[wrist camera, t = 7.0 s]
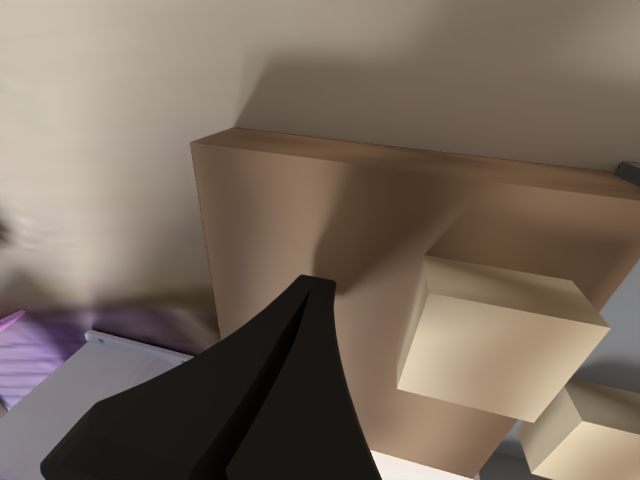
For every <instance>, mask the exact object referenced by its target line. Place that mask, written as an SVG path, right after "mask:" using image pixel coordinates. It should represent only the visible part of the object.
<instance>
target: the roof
mask: <svg viewBox="0 0 640 480" xmlns="http://www.w3.org/2000/svg"><path fill="white" fill-rule="evenodd" d="M7 412H8V411H7V409H6V408H5V407H4V406H3V405H2V404H1V403H0V419H1V418H2V417H3V416H4V415H5V414H6V413H7Z"/></svg>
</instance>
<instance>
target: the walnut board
mask: <svg viewBox="0 0 640 480" xmlns="http://www.w3.org/2000/svg"><path fill="white" fill-rule="evenodd" d="M190 146H191V153H192V159H193V165H194V172H195V178H196V184H197V191H198V197H199V203H200V210H201V216H202V222H203V229H204V235H205V242H206V248H207V254H208V261H209V267H210V273H211V280H212V286H213V292H214V299H215V305H216V311H217V318H218V324H219V331H220V337H221V340H223V339H224V338H226V337H227V336H229V335H230V334H232V333H233V332H235V331H236V330H237V329H239V328H240V327H241V326H243V325H244V324H246V323H247V322H248V321H249V320H251V319H252V318H253V317H254V316H256V315H257V314H258V313H259V312H261V311H262V310H263V309H264V308H265V307H267V306H268V305H269V304H270V303H271V302H272V301H273V300H274V299H276V298H277V297H278V296H279V295H280V294H281V293H282V292H283V291H284V290H285V289H286V288H287V287H288V286H289V285H290V284H291V283H292V282H293V281H294V280H295V279H296V278H297V277H298V276H300V275H301V274H303V275H309V276H314V277H319V278H324V279H329V280H334V281H335V282H336V293H335V301H334V317H335V328H336V335H337V341H338V347H339V352H340V357H341V362H342V366H343V370H344V374H345V378H346V381H347V385H348V389H349V392H350V395H351V398H352V401H353V404H354V408H355V411H356V414H357V417H358V420H359V423H360V426H361V428H362V431H363V434H364V436H365V439H366V442H367V444H368V447H369V449H370V450H373V451H376V452H380V453H383V454H387V455H390V456H394V457H397V458H401V459H404V460H408V461H411V462H415V463H418V464H422V465H425V466H429V467H432V468H436V469H439V470H443V471H446V472H450V473H453V474H457V475H460V476H464V477H467V478H471V479H474V477H475V476H476V475H477V473H478V472H479V471H480V469H481V468H482V467H483V465H484V464H485V463H486V461H487V460H488V459H489V457H490V456H491V455H492V454H493V452H494V451H495V450H496V448H497V447H498V446H499V444H500V443H501V442H502V440H503V439H504V438H505V436H506V435H507V434H508V432H509V431H510V430H511V428H512V427H513V426H514V424H515V423H516V422H517V420H518V419H516V418H512V417H508V416H504V415H500V414H496V413H492V412H488V411H484V410H480V409H476V408H472V407H468V406H464V405H460V404H456V403H451V402H447V401H443V400H439V399H435V398H431V397H427V396H423V395H419V394H415V393H411V392H407V391H403V390H399V389H397V343H398V340H399V336H400V333H401V330H402V326H403V323H404V319H405V316H406V313H407V309H408V306H409V303H410V299H411V296H412V292H413V289H414V286H415V282H416V279H417V276H418V272H419V269H420V265H421V262H422V259H423V255H427V256H433V257H439V258H444V259H450V260H456V261H462V262H468V263H473V264H479V265H485V266H491V267H496V268H502V269H508V270H514V271H519V272H525V273H531V274H537V275H542V276H548V277H554V278H560V279H565V280H571V281H573V283H574V284H575V285H576V286H577V287H578V289H579V290H580V291H581V292H582V293H583V295H584V296H585V297H586V298H587V299H588V301H589V302H590V303H591V304H592V306H593V307H594V308H595V309H596V310H597V312H598V313H599V312H600V311H601V309H602V308H603V307H604V305H605V304H606V303H607V302H608V300H609V299H610V298H611V296H612V295H613V294H614V292H615V291H616V290H617V288H618V287H619V286H620V284H621V283H622V282H623V280H624V279H625V278H626V276H627V275H628V274H629V272H630V271H631V270H632V268H633V267H634V266H635V264H636V263H637V262H638V261H639V259H640V187H639V186H637V185H635V184H633V183H631V182H629V181H627V180H625V179H622V178H620V177H618V176H616V175H614V174H612V173H610V172H604V171H596V170H587V169H579V168H570V167H562V166H553V165H545V164H536V163H528V162H519V161H511V160H502V159H494V158H486V157H477V156H469V155H460V154H452V153H443V152H435V151H426V150H418V149H409V148H401V147H392V146H384V145H375V144H367V143H358V142H350V141H341V140H333V139H324V138H316V137H307V136H299V135H290V134H282V133H273V132H265V131H256V130H248V129H239V128H230V129H228V130H225V131H222V132H219V133H216V134H213V135H210V136H207V137H204V138H201V139H199V140H196V141H193V142H190Z"/></svg>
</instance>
